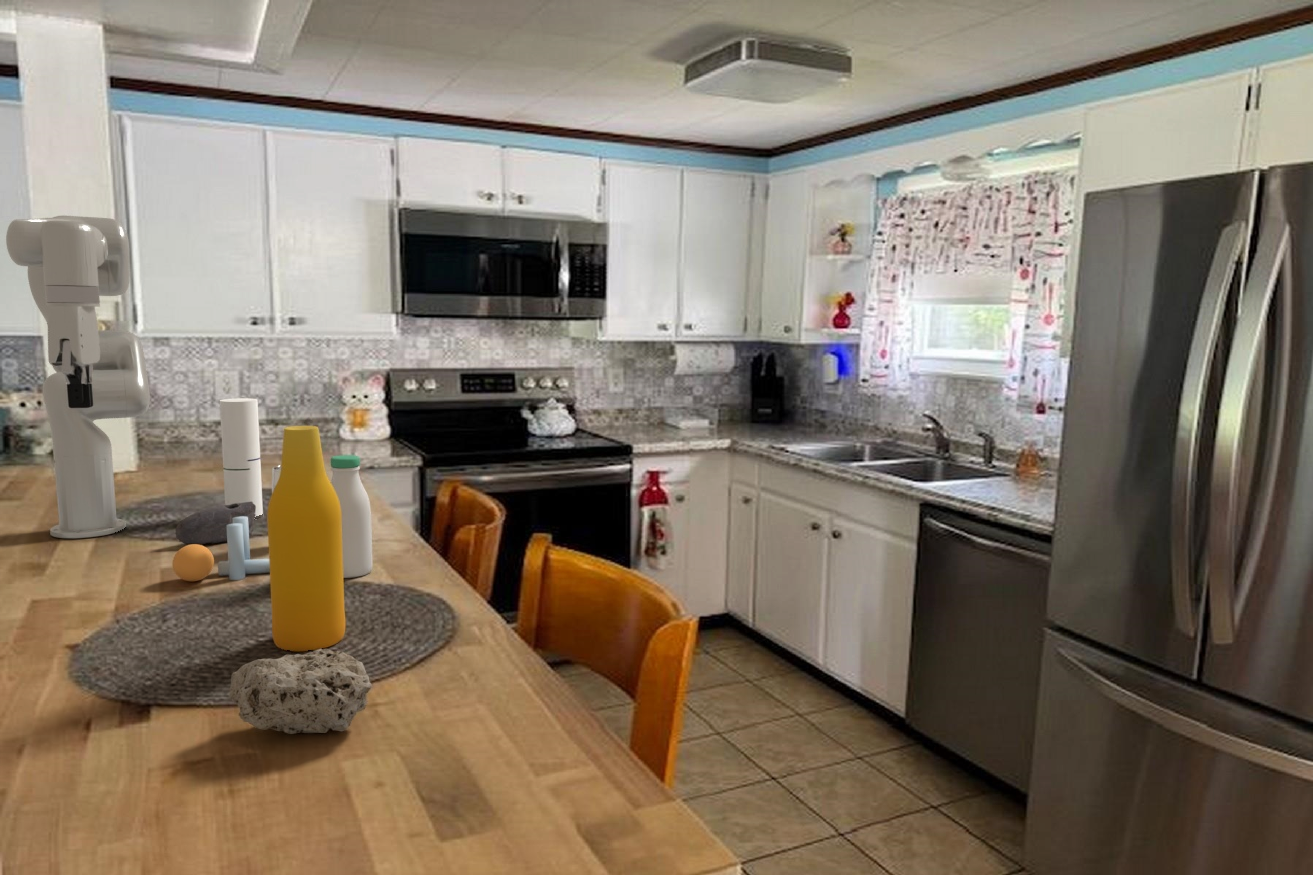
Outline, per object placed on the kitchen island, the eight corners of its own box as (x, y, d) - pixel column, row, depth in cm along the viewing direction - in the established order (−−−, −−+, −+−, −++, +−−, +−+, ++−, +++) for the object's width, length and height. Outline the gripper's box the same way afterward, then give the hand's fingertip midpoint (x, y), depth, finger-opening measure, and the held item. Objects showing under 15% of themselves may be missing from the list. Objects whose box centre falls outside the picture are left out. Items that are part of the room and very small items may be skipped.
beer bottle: (272, 632, 122) (262, 424, 118) (343, 624, 126) (336, 422, 122) (272, 656, 114) (262, 433, 110) (348, 647, 117) (341, 431, 113)
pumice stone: (228, 763, 87) (224, 686, 86) (233, 713, 98) (229, 644, 97) (376, 738, 93) (374, 666, 92) (364, 693, 104) (362, 628, 102)
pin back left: (230, 576, 147) (228, 523, 145) (246, 575, 147) (243, 522, 146) (227, 580, 144) (225, 527, 143) (243, 579, 145) (241, 526, 144)
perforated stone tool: (180, 551, 161) (178, 514, 160) (171, 545, 165) (169, 509, 164) (264, 538, 172) (263, 503, 171) (255, 533, 175) (253, 498, 174)
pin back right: (236, 567, 152) (233, 516, 150) (251, 567, 152) (249, 516, 151) (233, 571, 149) (231, 519, 148) (249, 571, 150) (246, 519, 149)
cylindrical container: (270, 516, 189) (264, 399, 185) (238, 522, 183) (232, 402, 179) (250, 511, 192) (244, 397, 189) (218, 517, 187) (212, 400, 183)
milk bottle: (382, 569, 152) (379, 455, 149) (349, 581, 145) (345, 461, 142) (348, 563, 155) (344, 451, 152) (314, 575, 148) (309, 457, 145)
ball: (228, 557, 147) (201, 572, 148) (202, 531, 145) (175, 546, 146) (211, 578, 142) (184, 594, 143) (184, 552, 139) (157, 568, 141)
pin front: (220, 560, 148) (278, 556, 151) (221, 574, 149) (278, 570, 151) (217, 562, 146) (276, 559, 149) (218, 577, 146) (277, 573, 149)
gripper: (64, 297, 153) (72, 403, 155) (28, 296, 138) (37, 412, 141) (112, 298, 155) (120, 402, 157) (82, 297, 140) (90, 412, 143)
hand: (81, 407), depth 149 cm, fingers closed
